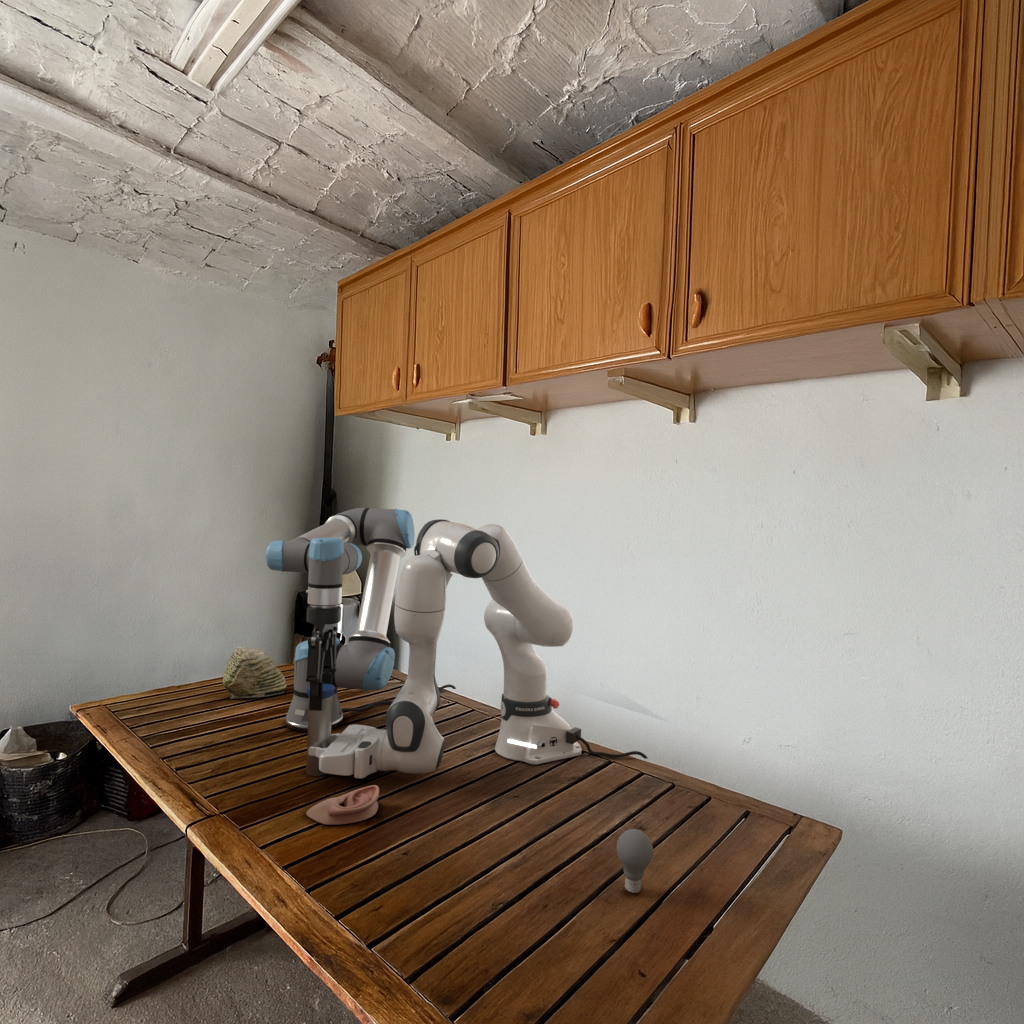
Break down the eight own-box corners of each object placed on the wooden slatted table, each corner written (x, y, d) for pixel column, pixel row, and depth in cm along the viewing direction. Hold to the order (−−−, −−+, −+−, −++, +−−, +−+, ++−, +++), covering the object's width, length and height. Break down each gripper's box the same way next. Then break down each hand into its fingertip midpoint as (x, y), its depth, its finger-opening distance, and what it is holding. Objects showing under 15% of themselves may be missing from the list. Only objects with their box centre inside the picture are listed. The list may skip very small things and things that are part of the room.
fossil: (218, 695, 195) (220, 647, 195) (278, 685, 208) (279, 640, 207) (228, 703, 189) (230, 653, 188) (289, 692, 201) (290, 645, 201)
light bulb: (610, 879, 108) (613, 822, 108) (644, 879, 109) (647, 822, 109) (619, 902, 102) (622, 840, 102) (655, 901, 103) (658, 840, 103)
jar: (314, 765, 149) (317, 685, 149) (333, 768, 148) (336, 687, 147) (301, 774, 144) (304, 691, 144) (321, 777, 143) (325, 694, 142)
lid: (301, 696, 143) (302, 689, 143) (316, 688, 149) (317, 682, 149) (325, 699, 142) (325, 692, 142) (339, 692, 148) (339, 685, 148)
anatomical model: (298, 800, 123) (327, 775, 135) (298, 820, 123) (326, 794, 135) (362, 810, 121) (386, 784, 132) (361, 830, 121) (385, 803, 132)
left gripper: (321, 598, 155) (318, 692, 155) (292, 611, 136) (288, 718, 136) (352, 599, 155) (348, 693, 155) (327, 613, 136) (322, 720, 136)
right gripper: (387, 720, 155) (332, 715, 156) (360, 753, 135) (297, 748, 136) (386, 745, 155) (331, 741, 156) (358, 782, 135) (296, 777, 136)
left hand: (320, 705), depth 146 cm, fingers closed on lid, 6 cm apart
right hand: (315, 744), depth 146 cm, fingers closed on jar, 5 cm apart
